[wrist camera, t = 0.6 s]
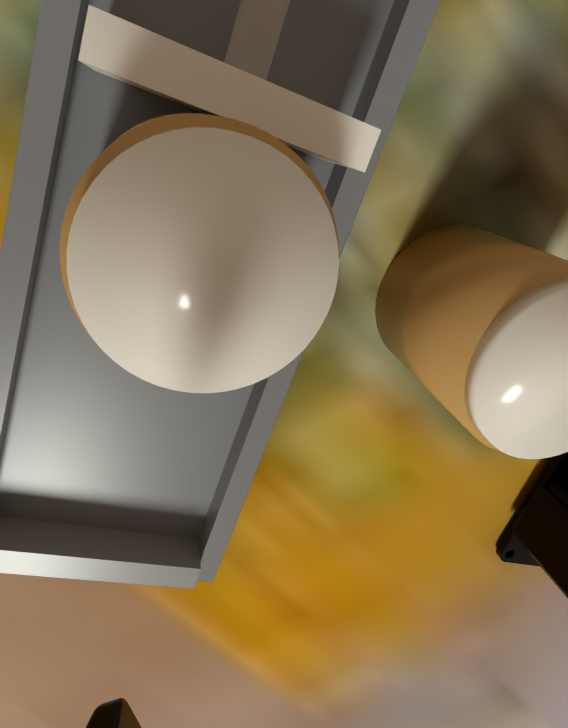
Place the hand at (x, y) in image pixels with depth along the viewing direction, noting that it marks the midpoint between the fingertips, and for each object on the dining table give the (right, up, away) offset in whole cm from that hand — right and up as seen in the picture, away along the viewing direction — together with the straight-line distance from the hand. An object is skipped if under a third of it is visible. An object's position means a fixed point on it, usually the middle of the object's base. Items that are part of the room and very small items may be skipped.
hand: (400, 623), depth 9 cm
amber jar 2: (+4, +7, +11) cm, 14 cm away
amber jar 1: (-5, +9, +7) cm, 12 cm away
